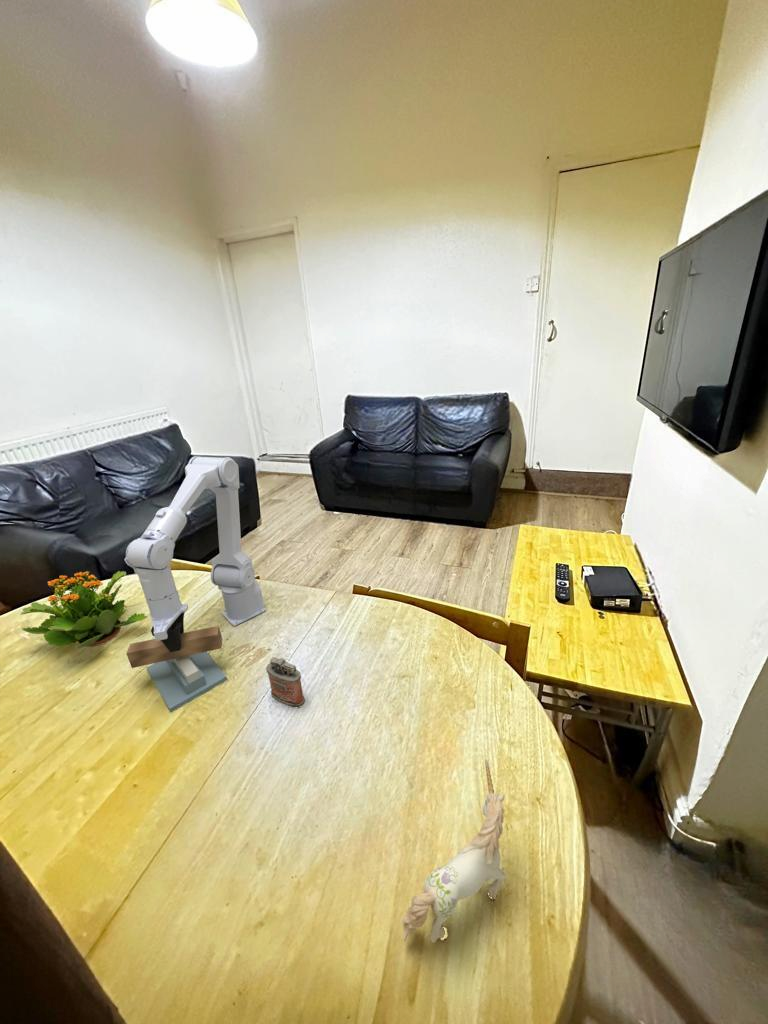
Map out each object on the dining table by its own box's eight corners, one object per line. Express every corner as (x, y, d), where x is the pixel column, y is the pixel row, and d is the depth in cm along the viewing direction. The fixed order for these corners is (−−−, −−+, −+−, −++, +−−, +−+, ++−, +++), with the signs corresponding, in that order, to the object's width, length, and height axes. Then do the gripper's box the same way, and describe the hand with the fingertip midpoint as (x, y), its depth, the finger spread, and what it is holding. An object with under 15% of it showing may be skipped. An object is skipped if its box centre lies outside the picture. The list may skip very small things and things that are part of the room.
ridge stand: (147, 670, 95) (140, 652, 93) (199, 644, 102) (194, 626, 100) (170, 712, 84) (163, 692, 82) (227, 679, 91) (222, 660, 89)
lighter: (267, 697, 87) (260, 660, 83) (278, 685, 89) (271, 649, 85) (298, 711, 83) (291, 673, 79) (308, 698, 86) (302, 662, 82)
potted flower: (172, 609, 116) (156, 555, 109) (114, 673, 94) (89, 611, 87) (90, 606, 119) (69, 553, 112) (16, 668, 97) (-16, 607, 90)
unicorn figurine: (524, 851, 60) (534, 792, 54) (445, 999, 47) (448, 941, 41) (480, 815, 64) (485, 758, 59) (398, 941, 51) (395, 882, 46)
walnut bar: (131, 668, 87) (126, 653, 85) (135, 658, 90) (130, 643, 88) (221, 648, 91) (217, 634, 89) (222, 639, 94) (218, 625, 92)
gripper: (175, 609, 78) (191, 663, 84) (187, 570, 91) (200, 620, 97) (135, 616, 77) (154, 671, 82) (152, 576, 90) (168, 626, 95)
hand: (177, 644), depth 89 cm, fingers closed on walnut bar, 3 cm apart
